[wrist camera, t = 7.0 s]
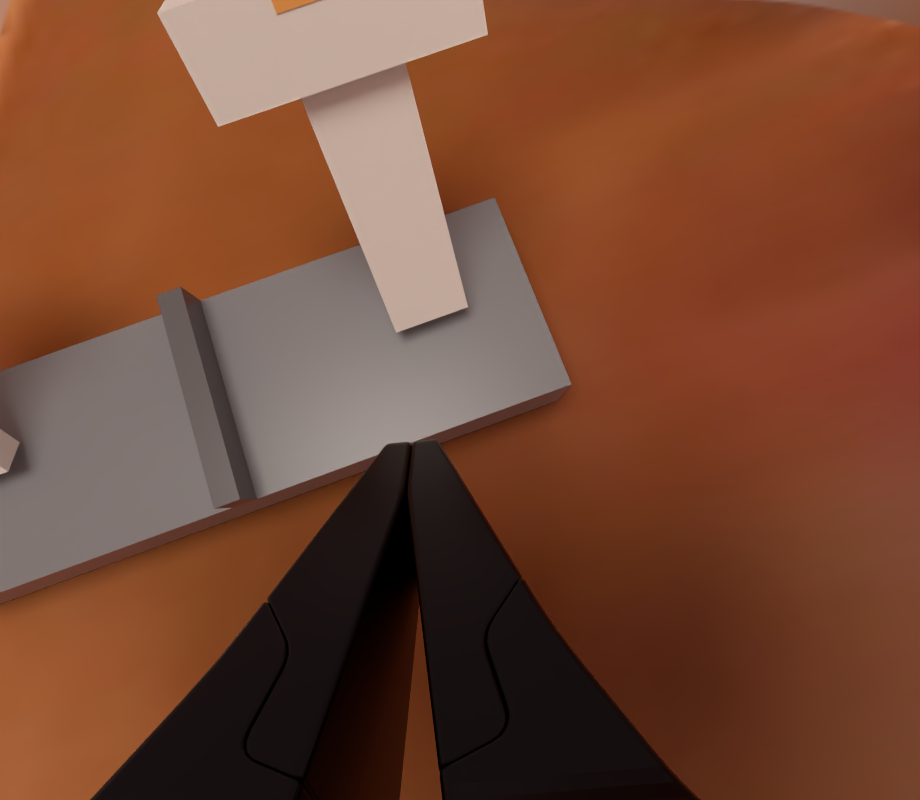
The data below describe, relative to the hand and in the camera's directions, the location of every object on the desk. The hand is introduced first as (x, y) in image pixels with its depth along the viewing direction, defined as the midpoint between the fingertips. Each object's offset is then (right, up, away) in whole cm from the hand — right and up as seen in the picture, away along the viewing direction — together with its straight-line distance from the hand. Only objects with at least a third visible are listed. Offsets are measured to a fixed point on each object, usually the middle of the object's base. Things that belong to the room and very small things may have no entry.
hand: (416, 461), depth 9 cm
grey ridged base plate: (-7, 0, +11) cm, 13 cm away
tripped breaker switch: (0, +4, +9) cm, 9 cm away
